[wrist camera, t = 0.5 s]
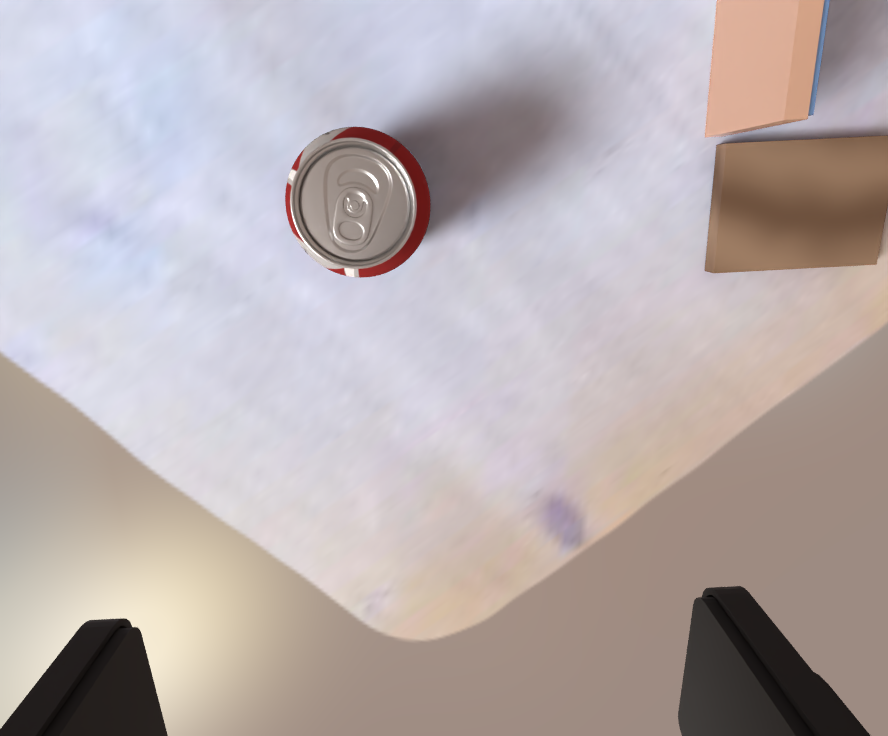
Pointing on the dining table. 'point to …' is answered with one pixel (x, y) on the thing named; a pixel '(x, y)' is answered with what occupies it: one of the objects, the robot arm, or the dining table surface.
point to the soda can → (357, 202)
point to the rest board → (797, 204)
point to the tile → (764, 63)
